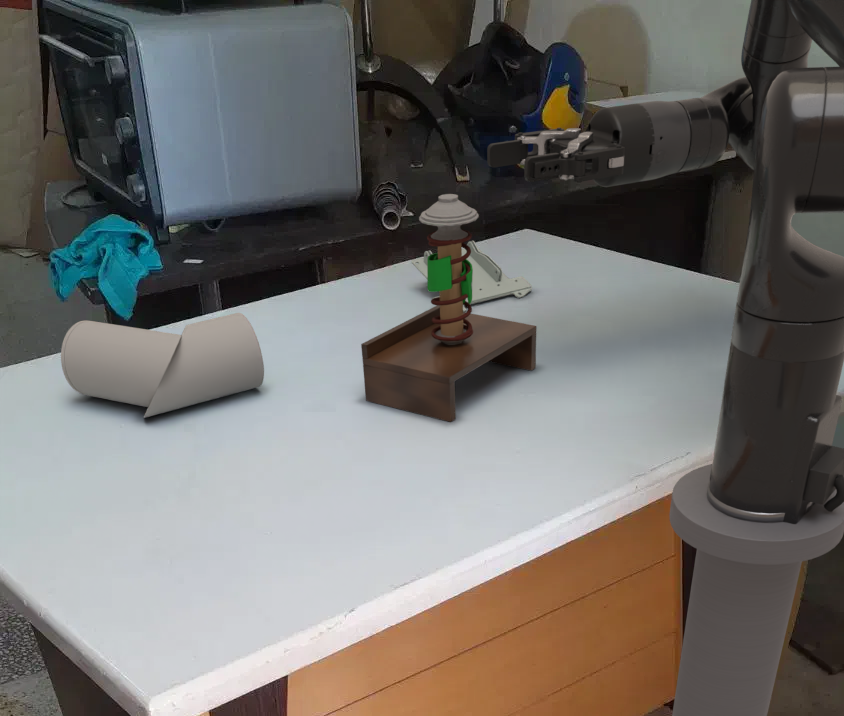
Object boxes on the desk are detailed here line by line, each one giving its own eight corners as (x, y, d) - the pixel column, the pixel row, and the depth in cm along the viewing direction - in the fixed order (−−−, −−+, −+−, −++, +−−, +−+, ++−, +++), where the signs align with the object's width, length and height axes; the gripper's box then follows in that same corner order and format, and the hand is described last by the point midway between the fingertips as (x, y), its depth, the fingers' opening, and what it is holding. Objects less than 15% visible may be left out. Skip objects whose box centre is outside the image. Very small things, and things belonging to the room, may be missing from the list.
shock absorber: (484, 347, 114) (483, 200, 105) (429, 353, 114) (422, 206, 104) (474, 329, 119) (472, 186, 109) (421, 334, 119) (414, 192, 109)
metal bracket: (396, 247, 143) (486, 228, 148) (393, 286, 148) (480, 266, 153) (448, 302, 136) (539, 280, 141) (443, 341, 141) (532, 318, 146)
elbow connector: (108, 436, 110) (274, 390, 117) (76, 333, 105) (252, 292, 112) (71, 419, 124) (222, 379, 131) (41, 328, 119) (200, 291, 126)
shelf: (535, 368, 122) (537, 312, 118) (450, 422, 112) (448, 363, 107) (454, 350, 128) (452, 297, 124) (365, 400, 117) (360, 343, 113)
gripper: (605, 95, 114) (476, 112, 110) (679, 112, 104) (540, 132, 100) (600, 170, 119) (477, 189, 115) (670, 193, 109) (538, 216, 105)
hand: (506, 163), depth 107 cm, fingers open, 8 cm apart
